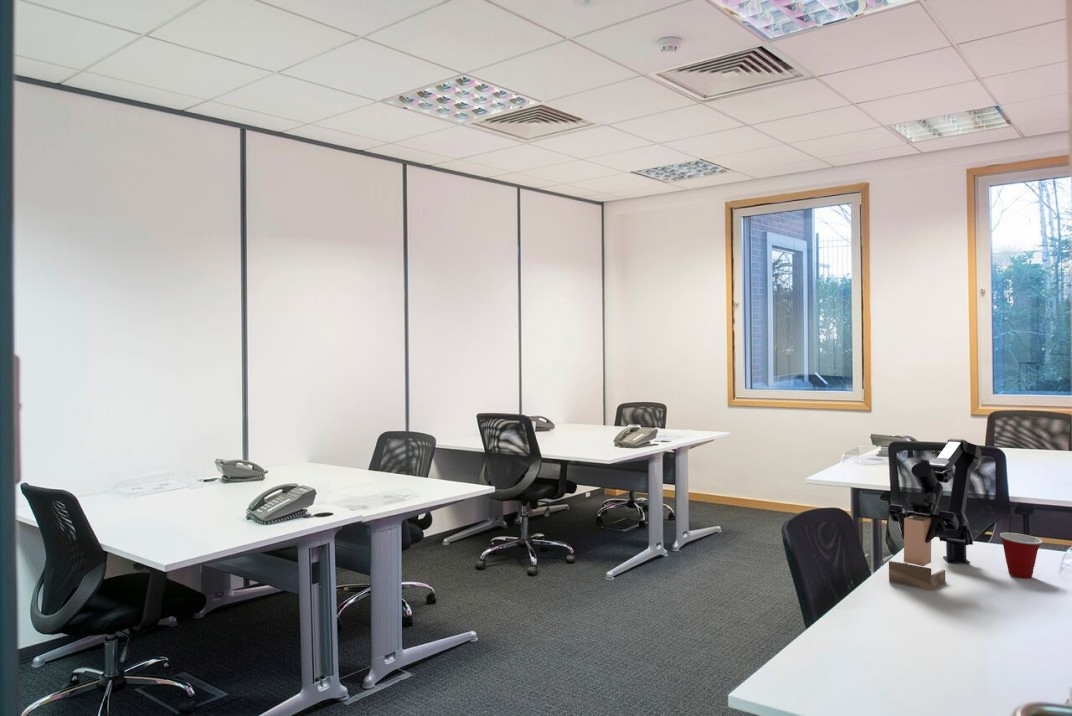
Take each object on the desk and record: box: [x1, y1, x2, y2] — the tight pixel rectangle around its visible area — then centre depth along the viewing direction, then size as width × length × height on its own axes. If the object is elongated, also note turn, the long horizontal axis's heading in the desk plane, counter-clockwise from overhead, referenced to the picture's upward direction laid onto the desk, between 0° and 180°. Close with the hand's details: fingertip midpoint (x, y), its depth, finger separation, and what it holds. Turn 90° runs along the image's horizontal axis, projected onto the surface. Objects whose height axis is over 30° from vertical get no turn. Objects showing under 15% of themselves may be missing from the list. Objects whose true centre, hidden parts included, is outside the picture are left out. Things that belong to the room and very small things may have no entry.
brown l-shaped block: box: [888, 560, 946, 591], centre depth 221 cm, size 11×12×6 cm
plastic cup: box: [999, 532, 1043, 580], centre depth 225 cm, size 11×11×12 cm
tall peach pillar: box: [903, 515, 932, 567], centre depth 221 cm, size 6×6×13 cm
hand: (914, 540), depth 221 cm, fingers closed on tall peach pillar, 6 cm apart
